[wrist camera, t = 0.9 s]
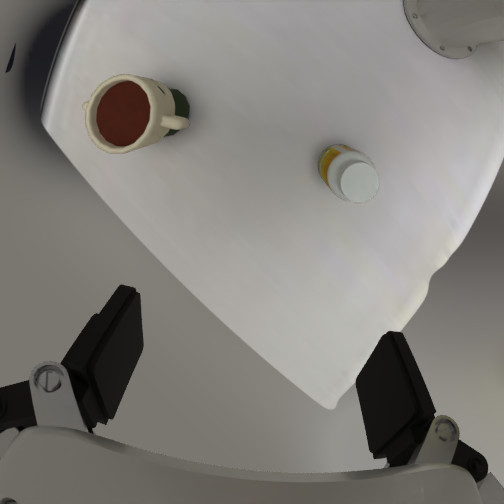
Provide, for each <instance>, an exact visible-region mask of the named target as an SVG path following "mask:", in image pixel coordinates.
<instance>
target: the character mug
mask: <svg viewBox="0 0 504 504" xmlns="http://www.w3.org/2000/svg"><path fill="white" fill-rule="evenodd" d="M82 108H83V110H85V111H86V115H85V125H86V128H87V131H88V134H89V137H90V139H91V140H92V141H93V142H94V144H95V145H96V146H97V147H98V148H100V149H102V150H104V151H106V152H108V153H114V154H123V153H127V152H130V151H133V150H136V149H139V148H142V147H145V146H148V145H151V144H153V143H156V142H158V141H159V140H160V139H162V138H163V137H165V136H170V135H174V134H175V133H176V132H178V131H179V130H180V129H184V128H187V127H188V126H189V125H190V123H189V120H188V113H189V105H188V102H187V100H186V97H185V96H184V95H183V94H182V93H181V92H179V91H178V90H175V89H168V88H167V87H166V86H165V85H164V84H162V83H160V82H158V81H155V80H152V79H149V78H144V77H139V76H134V75H130V74H121V75H117V76H113V77H111V78H109V79H108V80H106V81H104V82H103V83H101V84H100V85H99V87H98V88H97V89H96V90H95V91H94V93H93V94H92V95H91V97H90V100H89V101H88V102H85V103H84V104H83V105H82Z"/></svg>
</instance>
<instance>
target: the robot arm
mask: <svg viewBox="0 0 504 504" xmlns="http://www.w3.org/2000/svg"><path fill="white" fill-rule="evenodd" d="M404 8H405V13H406V15H407V18H408V20H409V22H410V24H411V26H412V28H413V29H414V31H415V32H416V34H417V35H418V36H419V37H420V38H421V40H422V41H423V42H424V43H425V44H427V45H428V46H429V47H430V48H431V49H433V50H434V51H435V52H437V53H439V54H441V55H443V56H445V57H448V58H452V59H461V58H466V57H468V56H470V55H471V54H472V53H473V52H474V51H475V49H476V47H477V44H483V43H489V42H495V41H502V40H504V0H404ZM143 345H144V344H143V331H142V317H141V300H140V293H138V292H136V289H135V288H134V287H130V286H125V285H120V286H119V287H118V288H117V290H116V291H115V292H114V294H113V295H112V296H111V298H110V299H109V300H108V302H107V303H106V305H105V306H104V307H103V309H102V310H101V312H100V313H99V314H97V313H96V314H94V315H93V316H92V317H91V319H90V320H89V322H88V323H87V324H86V326H85V327H84V329H83V330H82V331H81V333H80V334H79V336H78V337H77V339H76V340H75V342H74V343H73V345H72V346H71V348H70V349H69V351H68V352H67V354H66V355H65V357H64V359H63V360H62V362H61V364H59V363H57V362H53V361H47V362H43V363H40V364H38V365H37V366H36V367H35V368H34V369H33V370H32V371H31V374H30V376H29V380H28V381H24V382H20V383H16V384H13V385H9V386H5V387H1V388H0V504H504V488H503V487H502V485H501V484H500V483H499V482H498V480H497V479H496V478H495V477H494V476H493V474H492V473H491V472H490V473H488V464H487V461H486V459H485V457H484V456H483V455H482V454H480V453H479V452H477V451H476V450H474V449H473V448H471V447H469V446H468V445H467V444H465V443H464V442H462V441H461V440H459V434H460V433H459V428H458V426H457V424H456V422H455V421H454V420H453V419H451V418H450V417H448V416H445V415H440V416H437V417H436V418H435V416H434V413H435V412H436V410H435V407H434V405H433V402H432V399H431V397H430V395H429V392H428V389H427V387H426V384H425V382H424V380H423V377H422V375H421V373H420V370H419V368H418V366H417V363H416V361H415V359H414V356H413V355H412V352H411V350H410V348H409V345H408V344H407V341H406V339H405V337H404V335H403V333H401V332H394V331H388V332H387V333H386V334H384V335H383V336H382V337H381V339H380V340H379V342H378V344H377V346H376V347H375V349H374V351H373V352H372V354H371V356H370V357H369V359H368V360H367V362H366V364H365V365H364V367H363V368H362V370H361V372H360V373H359V375H358V376H357V378H356V388H357V393H358V397H359V402H360V406H361V411H362V416H363V420H364V425H365V430H366V435H367V440H368V446H369V450H370V452H371V453H373V457H374V459H380V458H387V463H386V465H385V467H384V468H383V469H373V470H363V471H351V472H333V473H288V472H268V471H257V470H245V469H238V468H229V467H223V466H216V465H210V464H204V463H198V462H193V461H188V460H184V459H179V458H175V457H171V456H166V455H162V454H159V453H155V452H151V451H147V450H143V449H140V448H136V447H132V446H130V445H126V444H123V443H120V442H117V441H114V440H111V439H107V438H104V437H101V436H98V435H96V434H95V432H94V429H93V428H95V427H96V425H97V422H100V423H102V424H105V425H106V424H107V422H108V419H113V418H114V416H115V414H116V411H117V409H118V406H119V404H120V401H121V399H122V397H123V394H124V392H125V390H126V387H127V385H128V383H129V380H130V378H131V376H132V373H133V371H134V369H135V366H136V364H137V362H138V360H139V357H140V355H141V353H142V350H143ZM487 473H488V474H487Z"/></svg>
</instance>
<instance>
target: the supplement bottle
mask: <svg viewBox="0 0 504 504" xmlns="http://www.w3.org/2000/svg"><path fill="white" fill-rule="evenodd" d="M318 170H319V173H320V176H321V177H322V179H323V180H324V181H325V183H326V184H327V185H328V186H329V188H330V189H331V190H332V191H333V193H334V194H335V195H336V196H338V197H339V198H341V199H343V200H346V201H352V202H355V203H364V202H367V201H369V200H370V199H372V198H373V197H374V196H375V195H376V193H377V191H378V189H379V176H378V173H377V172H376V169H375V166H374V164H373V162H372V161H371V160H370V158H368V157H367V156H366V155H365V154H363V153H361V152H359V151H357V150H354V149H352V148H350V147H348V146H345V145H333V146H330V147H328V148H327V149H325V151H324V152H323V153H322V154H321V156H320V158H319V162H318Z"/></svg>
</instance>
